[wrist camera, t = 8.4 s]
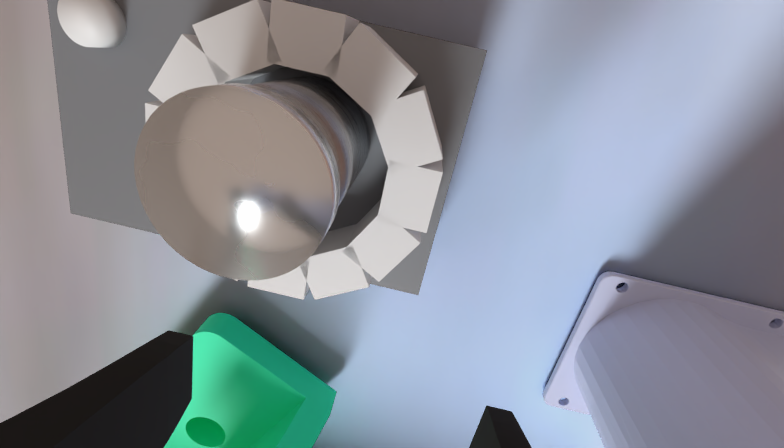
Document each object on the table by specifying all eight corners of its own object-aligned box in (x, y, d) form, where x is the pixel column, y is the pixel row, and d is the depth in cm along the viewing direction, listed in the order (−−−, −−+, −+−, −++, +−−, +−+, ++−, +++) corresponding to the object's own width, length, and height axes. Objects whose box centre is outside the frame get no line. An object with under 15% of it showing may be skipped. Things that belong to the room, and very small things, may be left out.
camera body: (476, 51, 16) (496, 49, 11) (420, 254, 19) (415, 326, 14) (121, -32, 16) (-26, -72, 11) (131, 186, 19) (23, 233, 14)
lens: (387, 96, 13) (354, 125, 8) (354, 211, 15) (308, 303, 9) (263, 55, 13) (138, 55, 8) (243, 176, 15) (130, 248, 9)
